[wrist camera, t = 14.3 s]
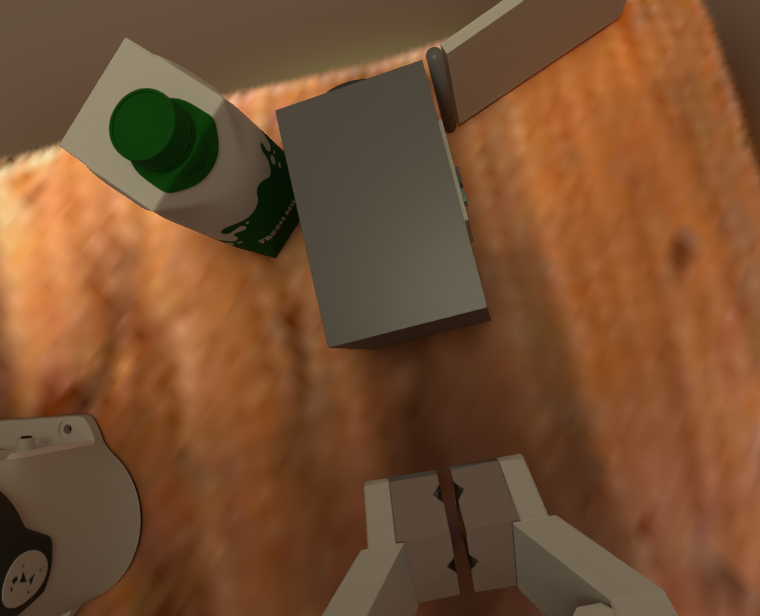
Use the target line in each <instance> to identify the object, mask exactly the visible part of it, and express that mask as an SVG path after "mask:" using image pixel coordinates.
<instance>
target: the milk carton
mask: <svg viewBox="0 0 760 616" xmlns="http://www.w3.org/2000/svg"><path fill="white" fill-rule="evenodd" d="M60 147H62V148H63V149H65V150H66V151H67V152H69V153H70V154H71V155H73V156H74V157H76V158H77V159H78V160H80V161H81V162H83V163H84V164H86V165H87V168H88V169H89V170H90V171H91V172H93V173H94V174H95V175H96V176H97V177H98V178H100V179H101V180H102V181H104V182H105V183H106V184H108V185H109V186H111V187H112V188H114V189H115V190H116V191H118V192H120V193H121V194H123V195H124V196H126V197H127V198H129V199H130V200H132V201H133V202H135V203H136V204H137V205H139V206H140V207H142V208H144V209H146V210H149V211H153V212H155V213H157V214H158V215H160V216H162V217H163V218H165V219H168V220H170V221H172V222H175V223H177V224H179V225H182V226H184V227H187V228H189V229H192V230H194V231H197V232H199V233H202V234H204V235H207V236H209V237H211V238H214V239H216V240H219V241H221V242H224V243H227V244H229V245H232V246H235V247H238V248H241V249H245V250H248V251H252V252H256V253H260V254H263V255H267V256H271V257H274V258H276V256H277V255H278V253H279V252H280V250H281V248H282V247H283V245H284V244H285V242H286V241H287V239H288V238H289V236H290V234H291V233H292V231H293V230H294V228H295V227H296V225H297V224H298V222H299V220H300V219H299V215H298V210H297V206H296V201H295V197H294V192H293V188H292V183H291V179H290V174H289V170H288V165H287V161H286V156H285V152H284V151H283V150H282V149H281V148H280V147H279V146H278V145H276V144H275V143H274V142H273V141H272V140H271V139H270V138H269V137H268V136H267V135H266V134H265V133H264V132H263V131H262V130H260V129H259V128H258V127H257V126H256V125H255V124H254V123H253V122H252V121H251V120H250V119H249V118H248V117H247V116H246V115H244V114H243V113H242V112H241V111H240V110H239V109H238V108H237V107H235V106H234V105H233V104H231V103H230V102H229V101H227V100H226V99H225V98H223V97H222V96H221V95H220V93H219V92H218V91H217V89H216V88H214V87H213V86H211V85H210V84H208V83H206V82H204V81H203V80H202V79H200V78H199V77H198V76H196V75H194V74H193V73H191V72H190V71H188V70H187V69H185V68H183V67H181V66H180V65H178V64H176V63H174V62H172V61H170V60H168V59H165V58H163V57H161V56H158V55H154V54H152V53H151V52H149V51H147V50H146V49H144V48H143V47H141V46H139V45H137V44H136V43H134V42H132V41H131V40H129V39H127V38H125V39H124V41H123V42H122V44H121V45H120V47H119V49H118V50H117V52H116V54H115V55H114V57H113V59H112V60H111V62H110V63H109V65H108V67H107V68H106V70H105V72H104V73H103V75H102V77H101V78H100V80H99V81H98V83H97V85H96V86H95V88H94V90H93V91H92V93H91V94H90V96H89V98H88V99H87V101H86V102H85V104H84V106H83V107H82V109H81V111H80V113H79V114H78V116H77V117H76V119H75V121H74V122H73V124H72V125H71V127H70V129H69V130H68V132H67V133H66V135H65V137H64V138H63V140H62V142H61V143H60Z"/></svg>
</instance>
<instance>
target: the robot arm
mask: <svg viewBox="0 0 760 616" xmlns="http://www.w3.org/2000/svg"><path fill="white" fill-rule="evenodd" d="M70 426H71V428H72V431H70ZM449 471H450V479H451V484H452V488H453V492H454V495H453V498H454V504H455V510H456V515H457V521H458V525H459V530H460V534H461V538H462V542H463V543H464V545H465V551H466V558H467V563H468V567H469V571H470V575H471V579H472V583H473V587H474V591H475V592H478V591H485V590H491V589H498V588H505V587H512V586H518V589H519V590H520V591H521V592H522V593H523V594H524V595H525V596H526V597H527V598H528V599H529V600H530V601H531V602H532V603H533V604H534V605H535V606H536V607H537V608H538V609H539V610H540V611H541V612H542V613H543V614H544V615H545V616H678V615H677V613H676V611H675V609H674V608H673V606H672V604H671V602H670V600H669V599H668V597H667V595H666V593H665V592H664V590H663V589H661V588H660V587H658V586H657V585H656V584H654V583H653V582H651V581H650V580H648V579H647V578H646V577H644V576H643V575H641V574H640V573H638V572H637V571H636V570H634V569H633V568H631V567H630V566H628V565H627V564H626V563H624V562H623V561H621V560H620V559H618V558H617V557H616V556H614V555H613V554H611V553H610V552H608V551H607V550H606V549H604V548H603V547H601V546H600V545H598V544H597V543H596V542H594V541H593V540H591V539H590V538H588V537H587V536H586V535H584V534H583V533H581V532H580V531H578V530H577V529H576V528H574V527H573V526H571V525H570V524H568V523H567V522H566V521H564V520H563V519H561V518H560V517H558V516H557V515H553V516H549V515H548V513H547V511H546V508H545V506H544V504H543V501H542V499H541V497H540V494H539V492H538V490H537V487H536V485H535V483H534V480H533V478H532V476H531V473H530V471H529V468H528V466H527V464H526V461H525V459H524V457H523V456H522V455H521V454H515V455H510V456H505V457H500V458H497V459H495V458H494V459H489V460H484V461H478V462H473V463H468V464H463V465H458V466H453V467H449ZM364 496H365V511H366V527H367V542H368V549H364V550H361V551H360V552H359V554H358V556H357V557H356V559H355V561H354V562H353V564H352V566H351V567H350V569H349V571H348V572H347V574H346V576H345V577H344V579H343V581H342V583H341V584H340V586H339V588H338V589H337V591H336V593H335V594H334V596H333V598H332V599H331V601H330V603H329V604H328V606H327V608H326V609H325V611H324V613H323V614H322V616H415V614H416V611H417V609H418V603H422V602H427V601H431V600H436V599H441V598H446V597H451V596H456V595H460V592H459V585H458V579H457V572H456V568H455V563H454V558H453V557H454V554H453V548H452V543H451V537H450V532H449V527H448V522H447V517H446V513H445V508H444V503H443V502H442V497H441V491H440V485H439V481H438V477H437V472H436V470H433V471H427V472H420V473H414V474H407V475H401V476H394V477H389V478H385V479H378V480H372V481H365V485H364ZM140 525H141V515H140V505H139V500H138V496H137V492H136V489H135V486H134V484H133V481H132V479H131V477H130V475H129V473H128V472H127V470H126V468H125V467H124V466H123V464H122V463H121V462H120V461H119V459H118V458H117V457H116V456H115V455H114V454H113V453H112V452H111V451H110V450H109V448H108V447H107V446H106V444H105V443H104V441H103V438H102V435H101V432H100V430H99V428H98V425H97V423H96V421H95V420H94V418H93V417H92V416H90V415H88V414H73V415H59V416H44V417H30V418H16V419H1V420H0V616H74V615H75V613H76V612H77V611H78V610H79V608H80V607H81V606H82V605H83V604H84V603H85V602H87V601H89V600H91V599H93V598H95V597H97V596H99V595H101V594H103V593H104V592H106V591H107V590H109V589H110V588H111V587H112V586H114V585H115V584H116V583H117V582H118V581H119V579H120V578H121V577H122V576H123V574H124V573H125V572H126V570H127V569H128V567H129V565H130V563H131V561H132V559H133V557H134V554H135V551H136V548H137V545H138V541H139V535H140Z"/></svg>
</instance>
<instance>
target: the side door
mask: <svg viewBox="0 0 760 616" xmlns="http://www.w3.org/2000/svg"><path fill="white" fill-rule="evenodd" d="M626 1H627V0H503V1H501V2H500V3H499V4H497V5H496V6H494V7H493V8H491V9H490V10H489V11H487V12H486V13H485V14H483V15H481V16H480V17H479V18H477V19H476V20H474V21H473V22H471V23H470V24H469V25H467V26H466V27H464V28H463V29H461V30H460V31H458V32H457V33H456V34H454V35H453V36H451V37H450V38H448V39H447V40H446V41H444V42H443V43H441V44H440V45H441V50H440V49H439V48H437V47H432V48H430V49H429V50H428V51H427V53H426V58H427V62H428V66H429V70H430V74H431V78H432V82H433V86H434V90H435V94H436V98H437V102H438V106H439V110H440V114H441V118H442V122H443V126H444V129H445V131H447V132H451V131H453V130H454V129H455V127H456V123H455V119H456V120H457V122H458V123H459V124H461V123H462V122H464V121H465V120H467V119H468V118H470V117H471V116H473V115H474V114H476V113H477V112H479V111H480V110H482V109H483V108H485V107H486V106H488V105H489V104H491V103H492V102H494V101H495V100H497V99H498V98H500V97H501V96H503V95H504V94H506V93H507V92H509V91H510V90H512V89H513V88H514V87H516V86H517V85H519V84H520V83H522V82H523V81H525V80H526V79H528V78H529V77H531V76H532V75H534V74H535V73H537V72H538V71H540V70H541V69H543V68H544V67H546V66H547V65H549V64H550V63H552V62H553V61H555V60H556V59H558V58H559V57H561V56H562V55H564V54H565V53H567V52H568V51H570V50H571V49H573V48H574V47H576V46H577V45H579V44H580V43H582V42H583V41H585V40H586V39H587V38H589V37H590V36H592V35H593V34H595V33H596V32H598V31H599V30H601V29H602V28H604V27H605V26H607V25H608V24H610V23H611V22H613V21H614V20H616V19H617V18H619V17H620V16H621V15H622V12H623V9H624V6H625V4H626ZM441 51H442V52H441ZM444 66H445V67H444ZM445 71H446V72H445ZM446 76H447V77H446ZM450 97H451V98H450ZM451 102H452V103H451ZM452 107H453V108H452ZM454 117H455V118H454Z"/></svg>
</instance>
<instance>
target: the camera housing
mask: <svg viewBox="0 0 760 616" xmlns="http://www.w3.org/2000/svg"><path fill="white" fill-rule="evenodd" d="M275 112H276V116H277V121H278V125H279V129H280V134H281V138H282V143H283V147H284V152H285V156H286V161H287V165H288V170H289V174H290V179H291V183H292V188H293V192H294V197H295V201H296V206H297V210H298V215H299V219H300V224H301V228H302V232H303V237H304V241H305V246H306V250H307V255H308V259H309V264H310V268H311V273H312V277H313V282H314V286H315V291H316V295H317V300H318V304H319V309H320V313H321V318H322V322H323V327H324V331H325V336H326V340H327V344H328V348H347V349H371V350H372V349H376V348H380V347H384V346H388V345H392V344H396V343H400V342H404V341H408V340H412V339H416V338H420V337H424V336H428V335H432V334H436V333H440V332H444V331H448V330H452V329H456V328H460V327H464V326H468V325H472V324H476V323H480V322H484V321H488V320H491V319H490V315H489V311H488V307H487V304H486V300H485V296H484V292H483V289H482V285H481V281H480V277H479V273H478V270H477V266H476V262H475V258H474V255H473V251H472V247H471V243H470V242H472V241H473V237H472V233H471V229H470V225H469V221H468V217H467V213H466V209H465V206H468V205H467V200H466V197H465V193H464V189H463V184H462V180H461V176H460V172H459V169H458V166H457V167H454V164H453V160H452V156H451V153H450V149H449V145H448V141H447V137H446V134H445V130H444V126H443V122H442V120H438V118H437V115H436V111H435V107H434V103H433V100H432V96H431V92H430V88H429V84H428V81H427V77H426V73H425V69H424V66H423V62H422V60H421V61H418V62H415V63H412V64H409V65H406V66H403V67H400V68H397V69H394V70H392V71H389V72H386V73H383V74H380V75H377V76H374V77H371V78H368V79H359V80H354V81H349V82H346V83H343V84H341V85H338V86H336V87H334V88H333V89H331V90H330V91H328V92H327V93H325V94H322V95H319V96H316V97H313V98H311V99H308V100H305V101H302V102H299V103H296V104H293V105H290V106H287V107H285V108H282V109H279V110H276V111H275Z"/></svg>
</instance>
